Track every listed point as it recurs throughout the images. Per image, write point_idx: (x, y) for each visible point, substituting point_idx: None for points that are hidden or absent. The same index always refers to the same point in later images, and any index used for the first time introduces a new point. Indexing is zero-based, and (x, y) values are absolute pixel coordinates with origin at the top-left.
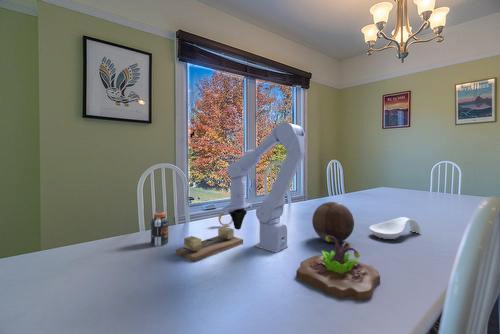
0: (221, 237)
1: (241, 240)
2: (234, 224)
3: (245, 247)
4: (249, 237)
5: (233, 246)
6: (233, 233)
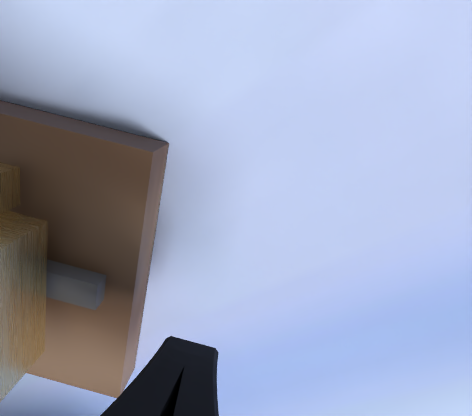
0: (28, 197)
1: (98, 388)
2: (138, 388)
3: (75, 404)
4: (308, 363)
5: None
6: (12, 384)
